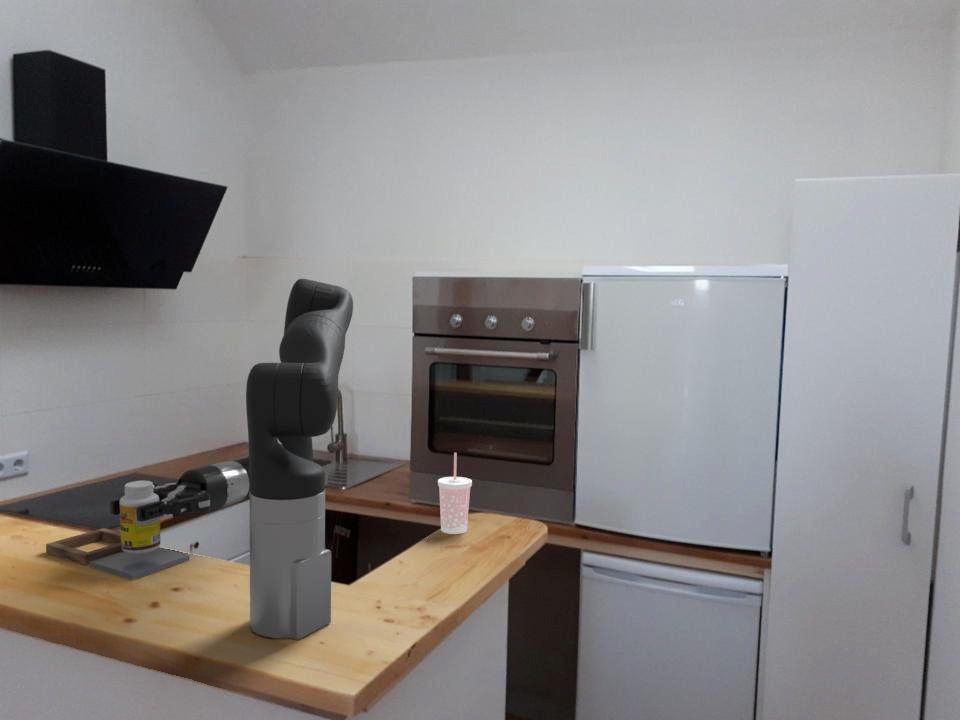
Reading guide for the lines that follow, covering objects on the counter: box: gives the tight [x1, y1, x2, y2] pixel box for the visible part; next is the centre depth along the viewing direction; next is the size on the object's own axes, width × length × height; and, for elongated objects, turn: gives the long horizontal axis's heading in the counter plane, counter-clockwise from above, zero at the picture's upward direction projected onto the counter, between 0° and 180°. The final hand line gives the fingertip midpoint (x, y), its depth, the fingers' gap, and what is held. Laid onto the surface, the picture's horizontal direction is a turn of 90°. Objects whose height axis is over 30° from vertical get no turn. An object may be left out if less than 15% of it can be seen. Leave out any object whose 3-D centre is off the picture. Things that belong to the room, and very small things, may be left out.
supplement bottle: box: [119, 480, 161, 554], centre depth 120 cm, size 6×6×10 cm
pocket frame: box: [45, 527, 123, 566], centre depth 126 cm, size 10×10×2 cm
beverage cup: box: [437, 452, 473, 535], centre depth 140 cm, size 6×6×14 cm
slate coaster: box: [89, 546, 190, 581], centre depth 120 cm, size 10×10×1 cm
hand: (125, 511), depth 117 cm, fingers closed on supplement bottle, 5 cm apart
